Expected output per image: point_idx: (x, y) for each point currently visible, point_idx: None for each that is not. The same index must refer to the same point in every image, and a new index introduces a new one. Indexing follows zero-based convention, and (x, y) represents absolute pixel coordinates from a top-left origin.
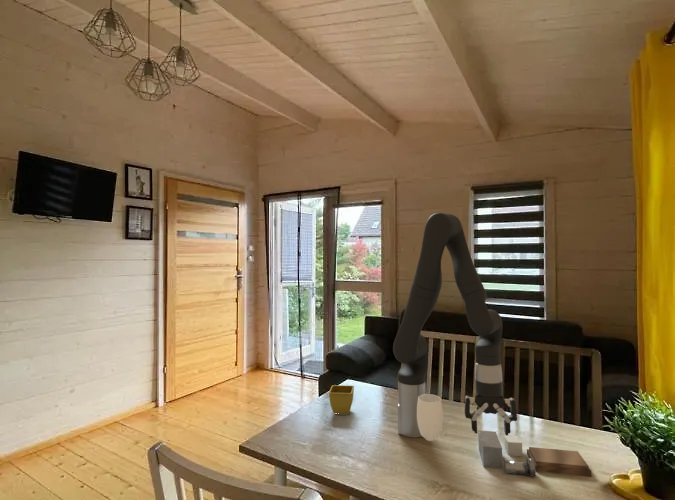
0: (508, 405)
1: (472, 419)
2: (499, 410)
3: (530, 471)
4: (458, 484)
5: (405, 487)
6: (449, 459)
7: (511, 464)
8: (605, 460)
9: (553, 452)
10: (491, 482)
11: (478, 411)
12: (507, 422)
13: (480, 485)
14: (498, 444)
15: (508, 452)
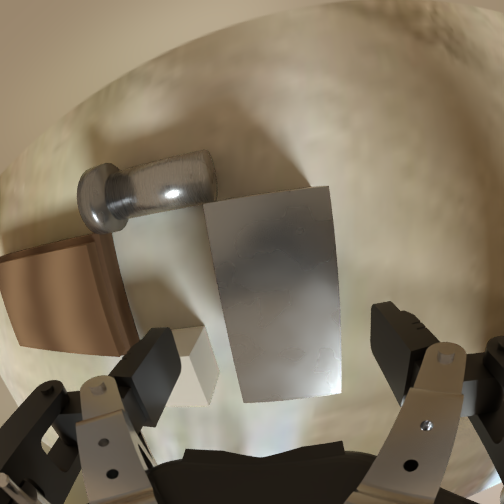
0: (32, 498)
1: (455, 345)
2: (119, 475)
3: (111, 167)
4: (390, 42)
5: (496, 32)
6: (444, 211)
7: (175, 163)
8: (6, 340)
9: (54, 329)
10: (274, 77)
11: (451, 418)
12: (110, 377)
13: (316, 48)
14: (225, 250)
15: (200, 331)
